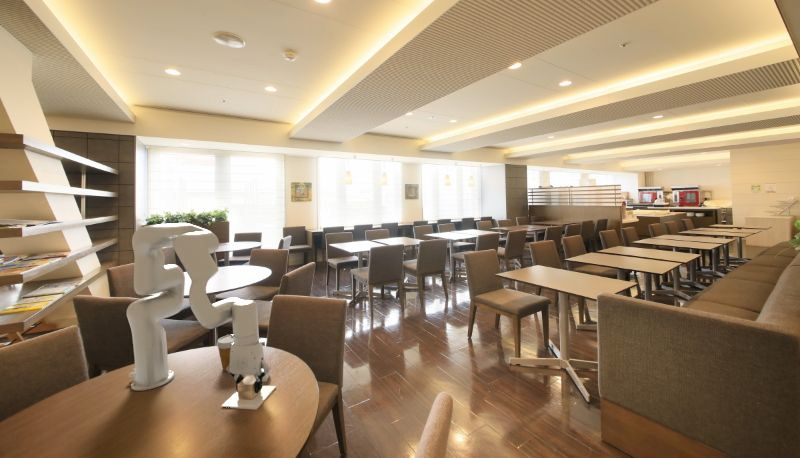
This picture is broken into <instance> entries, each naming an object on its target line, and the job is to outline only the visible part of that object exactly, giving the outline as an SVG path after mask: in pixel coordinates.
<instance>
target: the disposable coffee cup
mask: <svg viewBox="0 0 800 458" xmlns="http://www.w3.org/2000/svg"><path fill="white" fill-rule="evenodd" d="M231 335H232V334H227V335H224V336H222V337H219V338H218V339H217V343H216V347H217V348H218V353H219V357H220V363H221V366H222V371H223V372H227V373H229V372H228V371H227V370H226V368H227V367H228V365H229V364H230V350H231V345H232V343H234V339H233V338H231Z"/></svg>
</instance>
